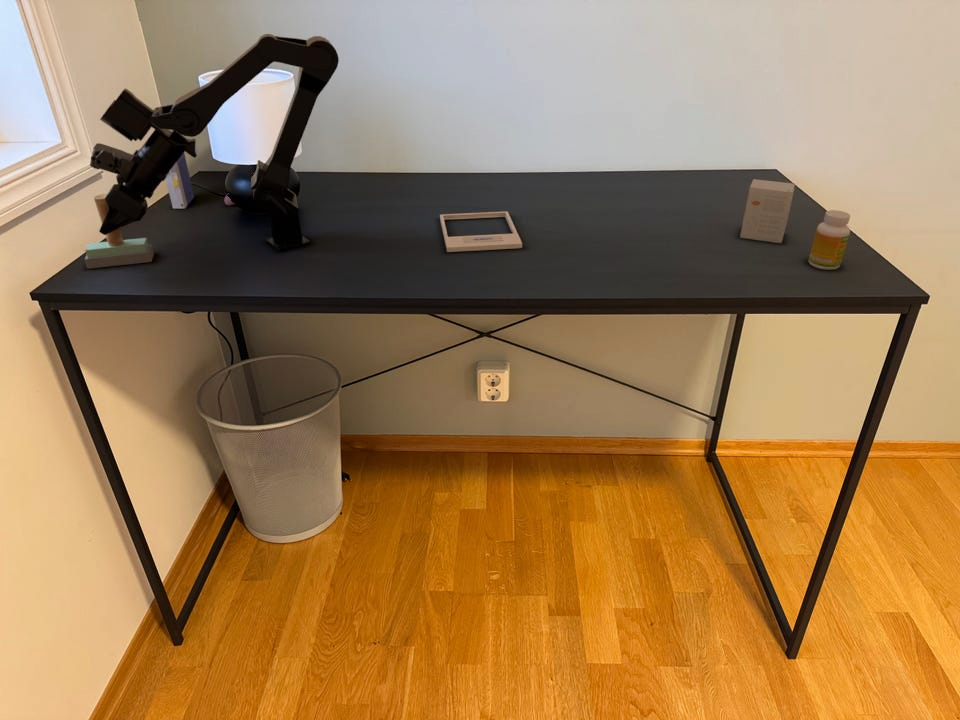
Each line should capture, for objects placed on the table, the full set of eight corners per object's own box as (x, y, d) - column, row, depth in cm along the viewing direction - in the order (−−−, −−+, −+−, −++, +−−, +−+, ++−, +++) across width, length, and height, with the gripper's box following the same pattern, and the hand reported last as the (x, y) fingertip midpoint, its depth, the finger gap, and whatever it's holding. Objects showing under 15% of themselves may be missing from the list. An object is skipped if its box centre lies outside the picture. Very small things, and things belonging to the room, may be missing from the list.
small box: (783, 234, 139) (796, 183, 133) (781, 244, 134) (794, 191, 129) (742, 228, 142) (753, 178, 136) (738, 238, 137) (749, 186, 132)
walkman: (182, 197, 159) (169, 145, 153) (194, 197, 160) (182, 144, 153) (172, 209, 153) (158, 154, 146) (184, 208, 153) (171, 154, 147)
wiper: (154, 253, 132) (136, 190, 125) (151, 262, 128) (133, 197, 122) (91, 260, 129) (70, 195, 123) (87, 269, 126) (65, 203, 119)
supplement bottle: (837, 273, 123) (852, 221, 118) (805, 266, 126) (819, 215, 120) (841, 262, 127) (856, 212, 122) (810, 256, 129) (824, 206, 124)
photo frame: (446, 246, 131) (439, 213, 146) (447, 252, 131) (439, 218, 147) (522, 242, 132) (507, 210, 148) (522, 248, 133) (507, 215, 148)
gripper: (120, 115, 125) (72, 180, 128) (102, 141, 110) (49, 214, 113) (176, 155, 131) (129, 217, 134) (167, 185, 116) (114, 253, 119)
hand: (106, 224), depth 125 cm, fingers open, 9 cm apart
